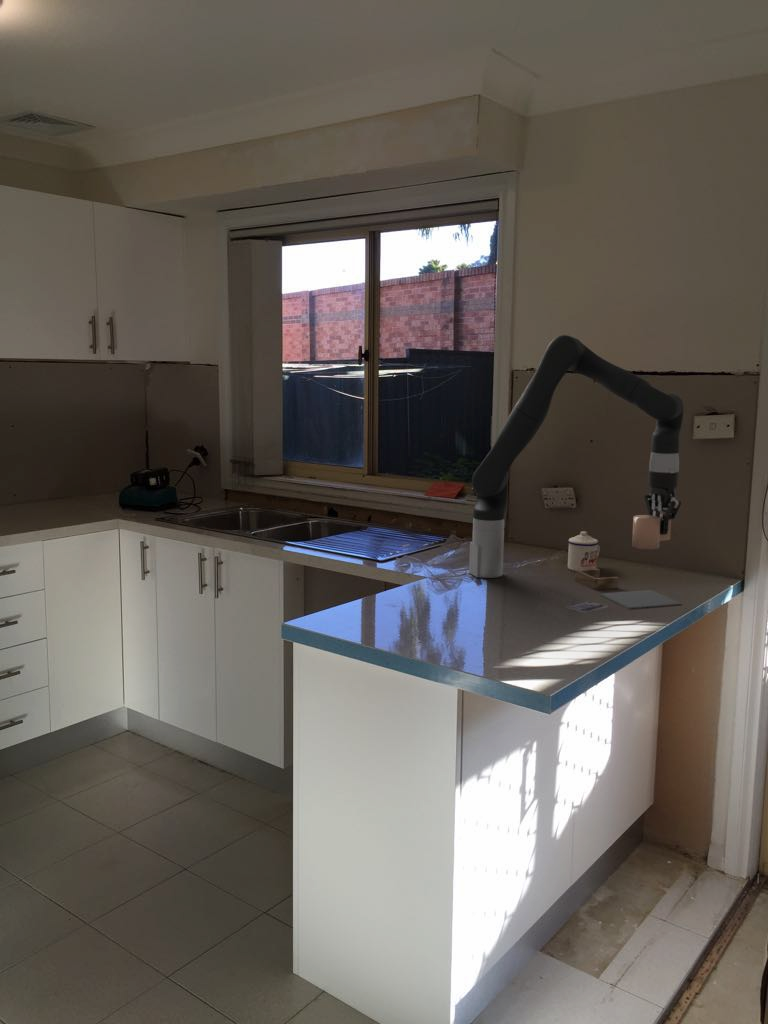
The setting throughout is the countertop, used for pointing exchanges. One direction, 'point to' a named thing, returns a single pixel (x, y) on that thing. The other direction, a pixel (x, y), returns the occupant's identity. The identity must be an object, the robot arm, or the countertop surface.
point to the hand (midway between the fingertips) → (660, 533)
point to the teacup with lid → (582, 552)
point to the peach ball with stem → (648, 532)
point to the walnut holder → (595, 579)
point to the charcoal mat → (640, 599)
